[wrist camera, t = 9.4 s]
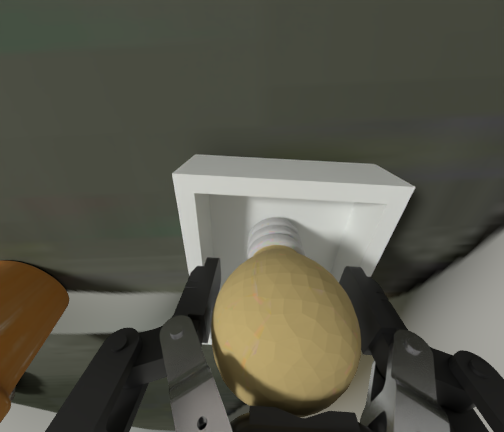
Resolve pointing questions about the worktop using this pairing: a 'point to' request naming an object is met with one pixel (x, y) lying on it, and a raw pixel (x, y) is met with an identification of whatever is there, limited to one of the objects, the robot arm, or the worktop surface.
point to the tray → (288, 208)
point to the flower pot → (24, 320)
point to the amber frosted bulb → (284, 326)
